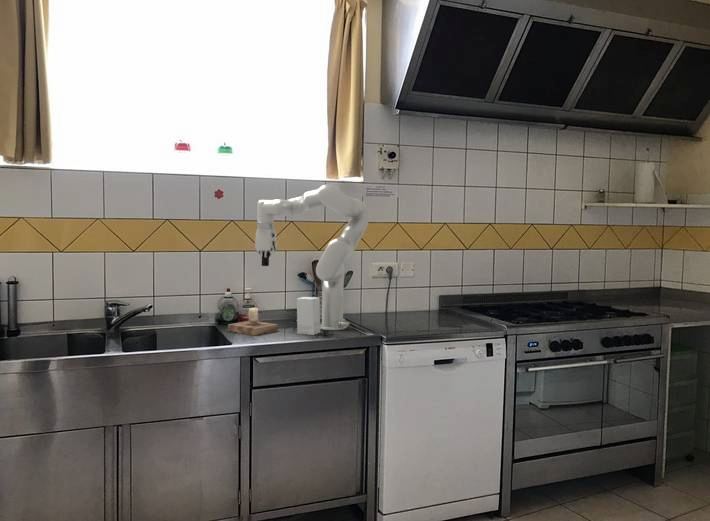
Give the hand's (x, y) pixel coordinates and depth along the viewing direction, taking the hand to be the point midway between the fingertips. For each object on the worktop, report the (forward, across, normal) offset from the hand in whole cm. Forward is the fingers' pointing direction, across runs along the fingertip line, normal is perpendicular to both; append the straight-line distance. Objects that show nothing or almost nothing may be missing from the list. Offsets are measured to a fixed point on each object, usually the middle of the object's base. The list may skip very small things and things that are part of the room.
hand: (265, 265), depth 279 cm
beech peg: (+27, -10, +18) cm, 34 cm away
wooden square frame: (+27, -10, +18) cm, 34 cm away
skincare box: (+27, -32, +7) cm, 43 cm away
